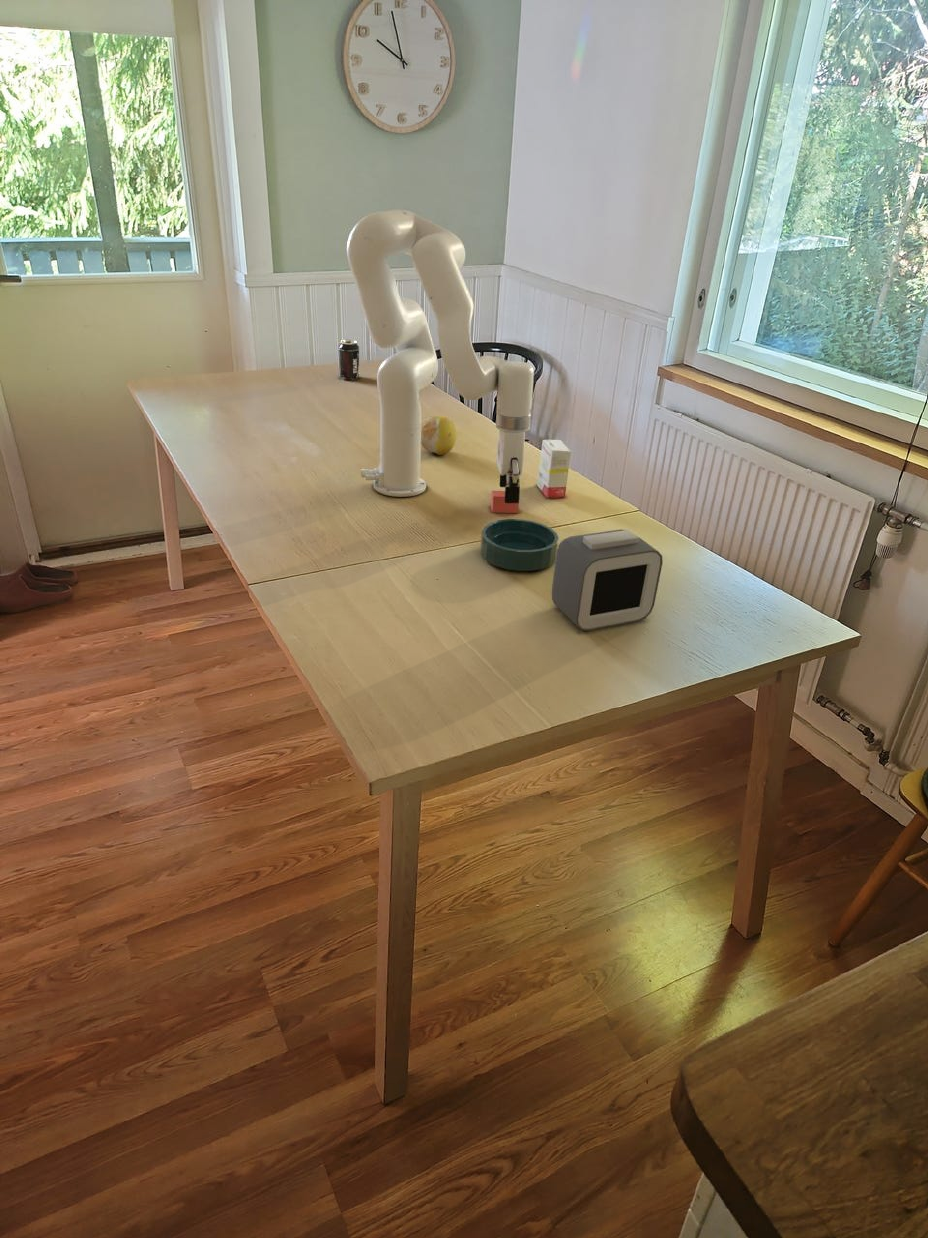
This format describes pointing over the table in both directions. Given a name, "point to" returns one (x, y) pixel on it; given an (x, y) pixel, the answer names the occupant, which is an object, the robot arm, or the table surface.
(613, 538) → the alarm clock
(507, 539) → the bowl
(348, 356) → the beverage can
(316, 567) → the table surface
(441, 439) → the fruit
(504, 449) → the robot arm
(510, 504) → the eraser
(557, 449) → the ink box
